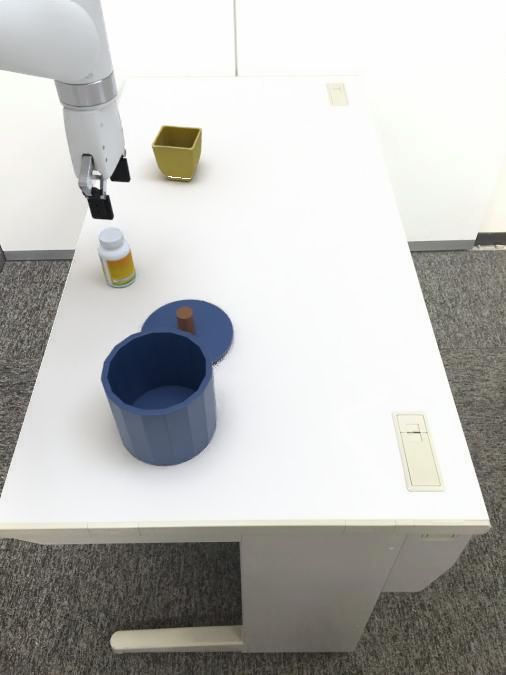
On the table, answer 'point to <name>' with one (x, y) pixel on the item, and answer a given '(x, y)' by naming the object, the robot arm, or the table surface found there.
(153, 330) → the tin
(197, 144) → the flower pot
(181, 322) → the tin lid
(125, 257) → the supplement bottle
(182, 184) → the table surface
